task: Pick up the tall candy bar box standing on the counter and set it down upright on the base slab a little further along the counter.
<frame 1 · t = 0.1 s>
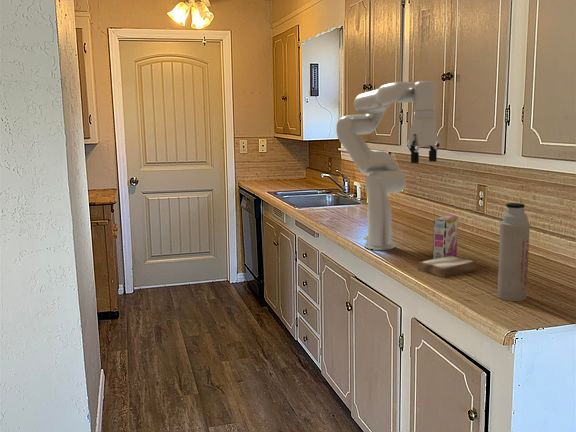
hand: (423, 162, 212), 37 cm above the worktop, tool pointing down, fingers open, 9 cm apart
thermos bottle: (511, 297, 169), on the worktop
base: (447, 270, 200), on the worktop
candy bar box: (445, 261, 214), on the worktop
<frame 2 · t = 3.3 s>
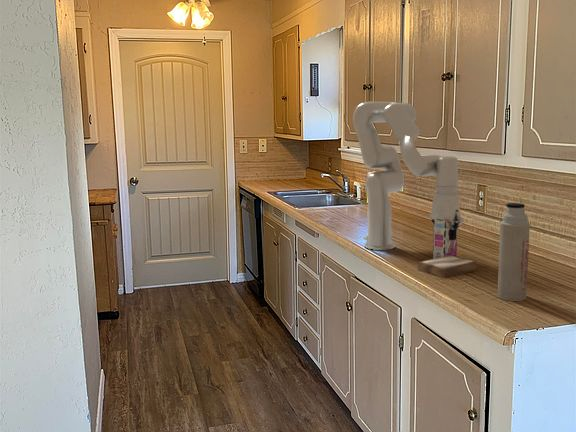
hand: (445, 237, 212), 9 cm above the worktop, tool pointing down, fingers closed on candy bar box, 6 cm apart
candy bar box: (445, 261, 214), on the worktop, touching gripper
everything else where it was.
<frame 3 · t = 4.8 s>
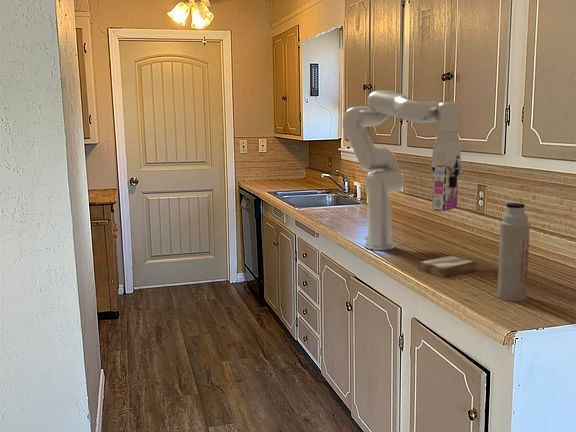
hand: (445, 185, 209), 28 cm above the worktop, tool pointing down, fingers closed on candy bar box, 6 cm apart
candy bar box: (445, 209, 211), point 19 cm above the worktop, touching gripper
everything else where it was.
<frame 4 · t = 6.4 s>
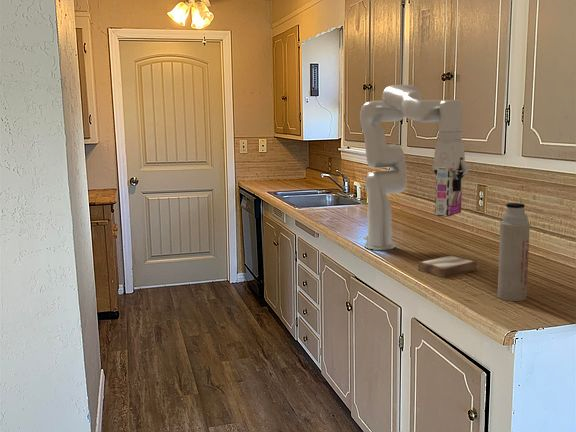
hand: (449, 189, 196), 28 cm above the worktop, tool pointing down, fingers closed on candy bar box, 6 cm apart
candy bar box: (448, 215, 197), point 20 cm above the worktop, touching gripper
everything else where it was.
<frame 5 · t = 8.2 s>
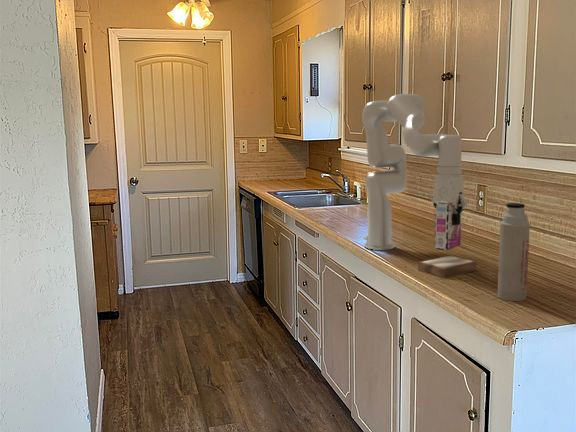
hand: (448, 222, 197), 17 cm above the worktop, tool pointing down, fingers closed on candy bar box, 6 cm apart
candy bar box: (448, 247, 199), point 8 cm above the worktop, touching gripper
everything else where it was.
when the fingers open (12 cm above the worktop, at t = 9.7 s): candy bar box stays where it is, resting on base.
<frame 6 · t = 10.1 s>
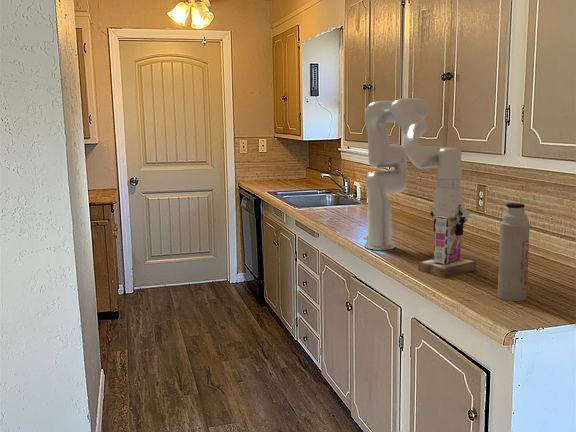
hand: (448, 233, 198), 13 cm above the worktop, tool pointing down, fingers open, 9 cm apart
candy bar box: (447, 261, 200), point 3 cm above the worktop, touching base
everything else where it was.
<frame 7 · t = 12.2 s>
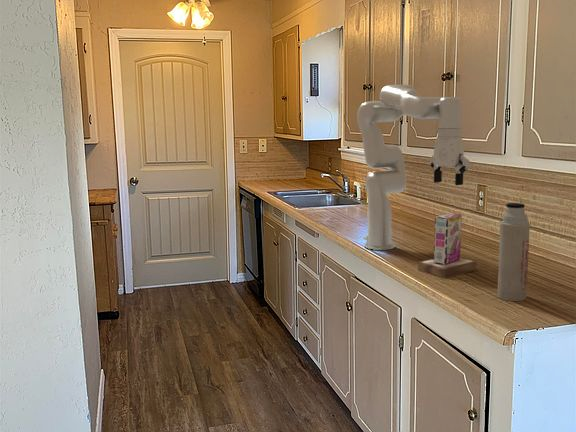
hand: (448, 183, 198), 30 cm above the worktop, tool pointing down, fingers open, 9 cm apart
nothing on the worktop moved.
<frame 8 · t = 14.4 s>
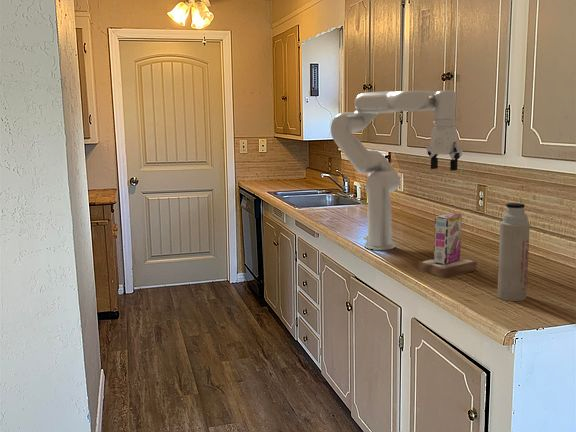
hand: (443, 169, 217), 33 cm above the worktop, tool pointing down, fingers open, 9 cm apart
nothing on the worktop moved.
at the end: candy bar box inside the target area on the base (0.1 cm from its centre), point 3.0 cm above the base's base; candy bar box tilted 0°; the gripper is holding nothing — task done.
